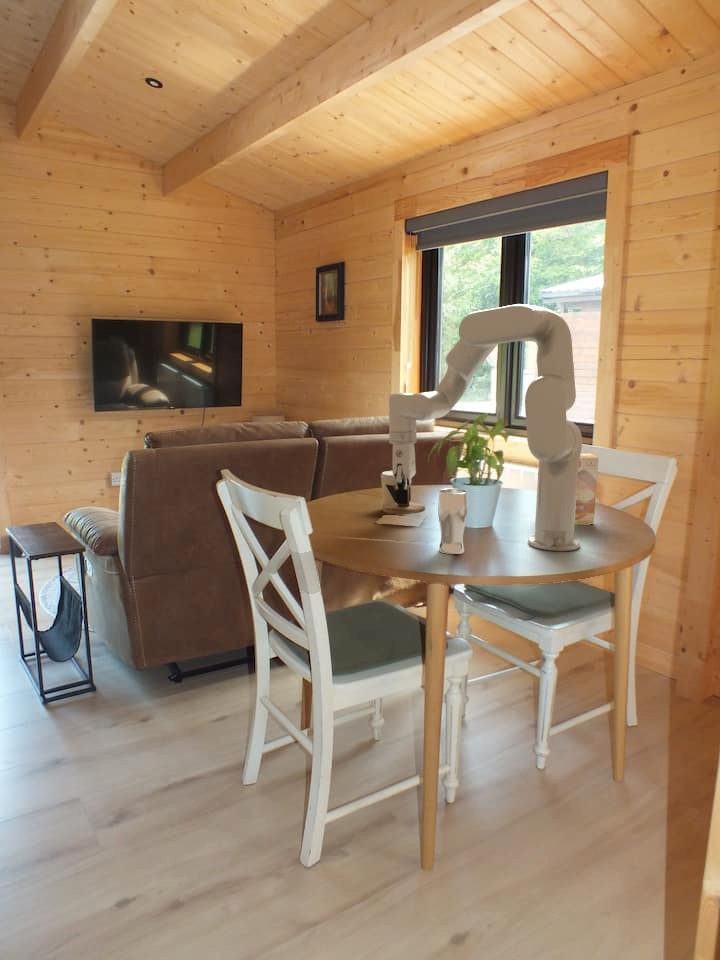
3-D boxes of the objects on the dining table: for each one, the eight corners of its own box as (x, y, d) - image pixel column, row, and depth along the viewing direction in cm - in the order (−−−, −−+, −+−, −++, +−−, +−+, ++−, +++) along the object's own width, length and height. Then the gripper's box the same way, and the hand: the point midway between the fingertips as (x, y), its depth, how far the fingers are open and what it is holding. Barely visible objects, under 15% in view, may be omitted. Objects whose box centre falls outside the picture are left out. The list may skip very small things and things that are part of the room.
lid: (420, 514, 193) (420, 489, 192) (378, 513, 196) (377, 488, 195) (428, 506, 205) (428, 482, 204) (387, 504, 208) (387, 481, 207)
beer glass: (470, 554, 170) (472, 493, 167) (443, 556, 168) (445, 494, 165) (458, 546, 177) (460, 487, 174) (432, 548, 175) (434, 489, 172)
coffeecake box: (541, 525, 199) (545, 456, 195) (535, 519, 206) (538, 452, 202) (594, 525, 199) (599, 456, 196) (586, 519, 206) (590, 453, 203)
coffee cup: (385, 516, 209) (385, 476, 206) (376, 509, 217) (377, 471, 215) (415, 515, 211) (416, 475, 209) (406, 508, 220) (406, 470, 217)
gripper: (410, 440, 188) (411, 508, 191) (421, 434, 204) (421, 497, 207) (382, 440, 190) (384, 507, 193) (395, 434, 206) (396, 496, 209)
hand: (403, 501), depth 200 cm, fingers closed on lid, 3 cm apart
